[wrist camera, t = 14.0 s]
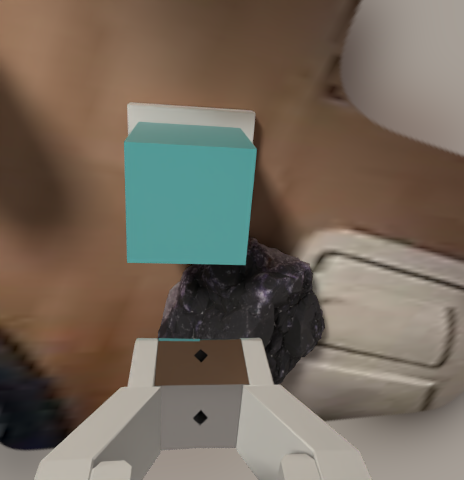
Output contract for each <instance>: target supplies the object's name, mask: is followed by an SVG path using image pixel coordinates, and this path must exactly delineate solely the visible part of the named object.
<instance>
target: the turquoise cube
mask: <svg viewBox="0 0 464 480" xmlns="http://www.w3.org/2000/svg"><path fill="white" fill-rule="evenodd" d="M256 153H257V149H256V147H255V146H254V145H253V144H252V142H251V141H250V140H249V138H248V137H247V136H246V135H245V133H244V132H243V131H242V130H241V128H233V127H217V126H201V125H185V124H169V123H152V122H138V123H137V125H136V126H135V127H134V129H133V130H132V132H131V133H130V134H129V136H128V137H127V138H126V140H125V141H124V156H125V195H126V234H127V263H172V264H220V265H246V255H247V245H248V235H249V225H250V214H251V204H252V194H253V184H254V174H255V163H256Z"/></svg>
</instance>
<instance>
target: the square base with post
mask: <svg viewBox="0 0 464 480" xmlns="http://www.w3.org/2000/svg"><path fill="white" fill-rule="evenodd" d="M127 106H128V136H129V134H130V133H131V132H132V130H133V129H134V127H135V126H136V125H137V123H138V122H152V123H169V124H185V125H201V126H217V127H233V128H241V130H242V131H243V132H244V133H245V135H246V136H247V137H248V138H249V140H250V141H251V142H252V144H253V135H254V124H255V114H256V113H255V112H253V111H252V110H237V109H222V108H207V107H193V106H178V105H163V104H148V103H133V102H130V103H129V104H128V105H127Z"/></svg>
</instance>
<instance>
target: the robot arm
mask: <svg viewBox="0 0 464 480" xmlns="http://www.w3.org/2000/svg"><path fill="white" fill-rule="evenodd" d="M189 448H236V450H237V452H238V453H239V454H240V456H241V457H242V458H243V460H244V461H245V462H246V464H247V465H248V466H249V468H250V469H251V470H252V472H253V473H254V475H255V476H256V477H257V478H258V480H372V479H371V476H370V474H369V472H368V469H367V467H366V465H365V462H364V460H363V458H362V455H361V454H360V451H359V450H358V449H357V448H356V447H354V446H353V445H352V444H351V443H350V442H348V441H347V440H346V439H345V438H344V437H342V436H341V435H340V434H339V433H338V432H336V431H335V430H334V429H333V428H332V427H330V426H329V425H328V424H327V423H326V422H324V421H323V420H322V419H321V418H320V417H318V416H317V415H316V414H315V413H314V412H312V411H311V410H310V409H309V408H308V407H306V406H305V405H304V404H303V403H302V402H300V401H299V400H298V399H297V398H296V397H294V396H293V395H292V394H291V393H290V392H288V391H287V390H286V389H285V388H284V387H282V386H281V385H274V382H273V378H272V374H271V371H270V367H269V364H268V360H267V356H266V353H265V349H264V345H263V342H262V340H261V339H260V338H240V339H173V338H159V340H158V339H157V338H137V339H136V341H135V346H134V352H133V358H132V364H131V370H130V376H129V382H128V387H121V388H120V389H119V390H118V391H116V392H115V393H114V394H113V395H112V396H111V397H110V398H109V399H108V400H107V401H106V402H105V403H103V404H102V405H101V406H100V407H99V408H98V409H97V410H96V411H95V412H94V413H93V414H91V415H90V416H89V417H88V418H87V419H86V420H85V421H84V422H83V423H82V424H81V425H80V426H78V427H77V428H76V429H75V430H74V431H73V432H72V433H71V434H70V435H69V436H68V437H67V438H65V439H64V440H63V441H62V442H61V443H60V444H59V445H58V446H57V447H56V448H55V449H53V450H52V451H51V452H50V453H49V454H48V455H47V456H46V457H45V458H44V459H43V460H42V461H41V462H40V464H39V467H38V470H37V473H36V476H35V478H34V480H142V479H143V478H144V476H145V475H146V474H147V472H148V471H149V469H150V468H151V466H152V465H153V463H154V462H155V460H156V459H157V457H158V456H159V454H160V450H173V449H189Z"/></svg>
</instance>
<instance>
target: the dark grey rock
mask: <svg viewBox="0 0 464 480" xmlns="http://www.w3.org/2000/svg"><path fill="white" fill-rule="evenodd" d="M312 275H313V273H312V272H311V269H310V264H309V263H306V262H303V261H300V260H299V258H296V257H293V256H290V255H287V254H284V253H282V252H280V251H279V250H278V249H275V248H269V247H267V246H265V245H263V244H260V243H258V241H257V239H255V238H252V237H251V238H248V245H247V255H246V265H220V264H193V265H192V266H189V267H187V269H186V270H185V271H184V272H183V275H182V278H181V281H180V282H178V283H177V284H176V285H175V286H174V287H173V288H172V289H171V290H170V292H169V294H168V298H167V301H166V305H165V309H164V313H163V319H162V322H161V327H160V329H159V331H158V338H157V339H158V340H159V338H173V339H240V338H260V339H261V340H262V342H263V345H264V349H265V353H266V356H267V360H268V364H269V367H270V371H271V374H272V378H273V382H274V385H278V384H280V383H282V381H283V380H284V378H285V376H286V374H288V373H289V372H290V371H291V370H292V369H293V368H294V367H295V365H296V363H297V362H298V361H299V360H300V358H301V357H305V356H306V355H307V354H308V353H309V352H310V351H312V350H313V348H314V347H315V346H316V345H317V343H318V340H319V339H321V335H322V332H323V330H324V328H325V325H324V319H323V317H322V310H321V309H320V306H319V303H318V299H317V297H316V295H315V294H314V293H313V291H312Z"/></svg>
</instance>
